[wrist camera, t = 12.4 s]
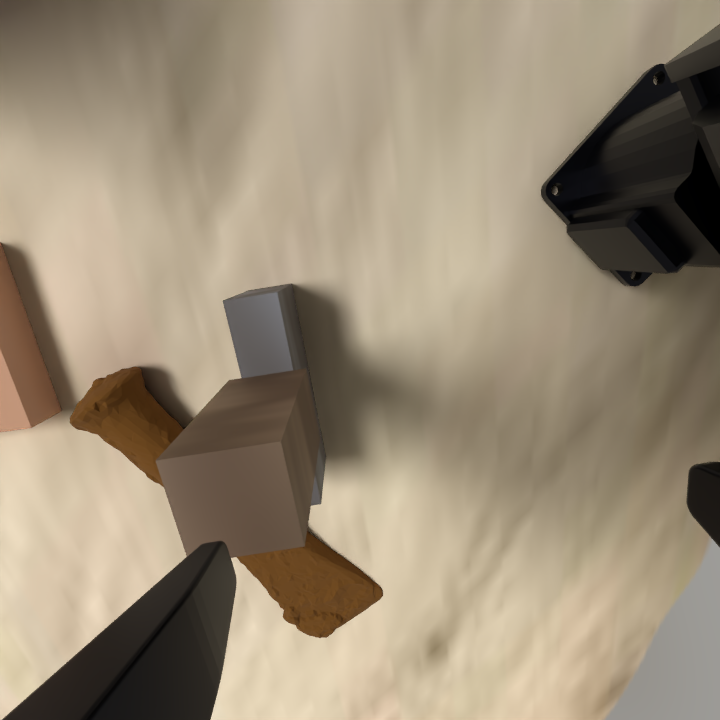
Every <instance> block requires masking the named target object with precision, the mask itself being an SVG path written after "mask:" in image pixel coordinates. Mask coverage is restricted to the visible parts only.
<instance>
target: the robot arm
mask: <svg viewBox="0 0 720 720" xmlns="http://www.w3.org/2000/svg"><path fill="white" fill-rule="evenodd" d="M653 76H656V77H657V79H658V82H657V85H655V84H654V83H653ZM553 185H556V186H557V187H558V193H557V194H556V195H553V194H552V192H551V188H552V186H553ZM541 195H542V198H543V199H544V201H545V202H546V203H547V204H548V205H549V206H550V207H551V208H552V209H553V210H554V211H555V212H556V213H557V215H558V216H559V217H560V218H561V219H562V220H563V221H564V222H565V223H566V224H567V234H568V235H569V236H570V237H571V238H572V239H573V240H574V241H575V242H576V243H577V244H578V245H579V246H580V247H581V248H582V250H583V251H584V252H585V253H586V254H587V255H588V256H589V257H590V258H591V259H592V260H593V261H594V262H595V263H596V264H597V265H598V267H599V268H601V269H606V270H610V271H611V272H612V273H613V274H614V275H615V277H616V278H617V279H618V280H619V281H620V282H621V283H622V284H624V285H627V286H638V285H640V284H642V283H643V282H644V281H645V280H646V279H647V278H648V277H649V276H650V275H651V274H652V273H666V274H668V273H677V272H678V271H679V270H680V269H681V268H682V267H683V266H694V267H719V268H720V24H719V25H718V26H716V27H715V28H714V29H712V30H711V31H709V32H708V33H707V34H705V35H704V36H703V37H701V38H700V39H699V40H697V41H696V42H695V43H693V44H692V45H691V46H689V47H688V48H686V49H685V50H684V51H682V52H681V53H680V54H678V55H677V56H676V57H674V58H673V59H672V60H670V61H669V62H668V63H666V64H658V65H655V66H654V67H652V68H650V69H649V70H647V71H646V72H645V73H644V74H643V75H642V76H641V77H640V78H639V79H638V80H637V81H636V82H635V84H634V85H633V86H632V87H631V88H630V89H629V90H628V91H627V92H626V94H625V95H624V96H623V97H622V98H621V99H620V100H619V101H618V102H617V103H616V105H615V106H614V107H613V108H612V109H611V110H610V111H609V112H608V113H607V114H606V116H605V117H604V118H603V119H602V120H601V121H600V122H599V123H598V124H597V125H596V127H595V128H594V129H593V130H592V131H591V132H590V133H589V134H588V135H587V136H586V138H585V139H584V140H583V141H582V142H581V143H580V144H579V145H578V146H577V148H576V149H575V150H574V151H573V152H572V153H571V154H570V155H569V156H568V157H567V159H566V160H565V161H564V162H563V163H562V164H561V165H560V166H559V167H558V168H557V170H556V171H555V172H554V173H553V174H552V175H551V176H550V177H549V178H548V179H547V181H546V182H545V183H544V184H543V186H542V189H541ZM633 271H635V277H634V278H633V279H631V273H632V272H633ZM687 506H688V509H689V511H690V513H691V514H692V516H693V517H694V518H695V519H696V521H697V522H698V523H699V524H700V525H701V526H702V527H703V529H704V530H705V531H706V532H707V533H708V534H709V536H710V537H711V538H712V539H713V540H714V541H715V542H716V544H717V545H718V546H719V547H720V462H707V463H701V464H696V465H693V466H692V467H691V468H690V470H689V475H688V488H687ZM235 592H236V574H235V571H234V567H233V564H232V561H231V557H230V554H229V551H228V548H227V545H226V544H225V542H223V541H215V542H209V543H204V544H201V545H200V546H199V547H198V548H196V549H195V550H194V551H193V552H192V553H191V554H190V555H189V556H187V557H186V558H185V559H184V560H183V561H182V562H181V563H179V564H178V565H177V566H176V567H175V568H174V569H173V570H172V571H170V572H169V573H168V574H167V575H166V576H165V577H164V578H162V579H161V580H160V581H159V582H158V583H157V584H156V585H154V586H153V587H152V588H151V589H150V590H149V591H148V592H147V593H145V594H144V595H143V596H142V597H141V598H140V599H139V600H137V601H136V602H135V603H134V604H133V605H132V606H131V607H130V608H128V609H127V610H126V611H125V612H124V613H123V614H122V615H120V616H119V617H118V618H117V619H116V620H115V621H114V622H112V623H111V624H110V625H109V626H108V627H107V628H106V629H105V630H103V631H102V632H101V633H100V634H99V635H98V636H97V637H95V638H94V639H93V640H92V641H91V642H90V643H89V644H87V645H86V646H85V647H84V648H83V649H82V650H81V651H80V652H78V653H77V654H76V655H75V656H74V657H73V658H72V659H70V660H69V661H68V662H67V663H66V664H65V665H64V666H62V667H61V668H60V669H59V670H58V671H57V672H56V673H54V674H53V675H52V676H51V677H50V678H49V679H48V680H47V681H45V682H44V683H43V684H42V685H41V686H40V687H39V688H37V689H36V690H35V691H34V692H33V693H32V694H31V695H29V696H28V697H27V698H26V699H25V700H24V701H23V702H22V703H20V704H19V705H18V706H17V707H16V708H15V709H14V710H12V711H11V712H10V713H9V714H8V715H7V716H6V717H4V718H3V719H2V720H210V719H211V716H212V712H213V708H214V704H215V700H216V696H217V693H218V688H219V684H220V680H221V675H222V670H223V665H224V659H225V653H226V647H227V641H228V634H229V628H230V622H231V616H232V610H233V604H234V598H235Z"/></svg>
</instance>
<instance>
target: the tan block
mask: <svg viewBox="0 0 720 720" xmlns="http://www.w3.org/2000/svg"><path fill="white" fill-rule="evenodd" d="M61 411H62V410H61V407H60V405H59V402H58V399H57V396H56V394H55V391H54V388H53V385H52V383H51V380H50V377H49V374H48V372H47V369H46V366H45V363H44V360H43V358H42V355H41V352H40V349H39V347H38V344H37V341H36V338H35V336H34V333H33V330H32V327H31V325H30V322H29V319H28V316H27V313H26V311H25V308H24V305H23V302H22V300H21V297H20V294H19V291H18V289H17V286H16V283H15V280H14V278H13V275H12V272H11V269H10V266H9V264H8V261H7V258H6V255H5V253H4V250H3V247H2V244H1V243H0V432H4V431H11V430H19V429H26V428H32V427H34V426H36V425H37V424H39V423H41V422H43V421H44V420H46V419H48V418H50V417H52V416H53V415H55V414H57V413H59V412H61Z"/></svg>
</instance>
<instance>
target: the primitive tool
mask: <svg viewBox="0 0 720 720" xmlns="http://www.w3.org/2000/svg"><path fill="white" fill-rule="evenodd" d="M70 424H71V425H72V426H73V427H75V428H76V429H78V430H84V431H88V432H90V433H94V434H98V435H99V436H100V437H101V438H102V439H103V440H104V441H105V442H107V443H108V444H110V445H111V446H113V447H114V448H116V449H118V450H119V451H121V452H122V453H123V454H124V455H125V456H126V457H127V458H128V459H129V460H130V461H131V462H132V463H134V464H135V465H136V466H137V467H138V468H139V469H140V470H142V471H143V472H144V473H145V474H146V475H147V477H148V478H150V479H151V480H153V481H154V482H156V483H159V484H160V485H162V486H163V487H164V485H163V482H162V479H161V476H160V473H159V470H158V467H157V464H156V460H157V458H158V457H159V456H160V455H161V454H162V453H163V452H164V451H165V450H166V449H167V448H168V446H169V445H170V444H171V443H172V442H173V441H174V440H175V439H176V438H177V437H178V436H179V434H180V433H181V432H182V431H183V430H184V429H183V428H182V427H181V426H180V425H179V423H178V422H177V421H176V420H175V419H174V418H172V417H171V416H170V415H168V413H167V412H166V411H165V410H164V409H163V408H162V407H161V406H160V405H159V404H158V402H157V401H155V399H154V398H153V396H152V395H151V394H150V393H149V392H148V391H147V390H146V388H145V382H144V379H143V377H142V370H141V369H140V368H138V367H132V368H128V369H121V370H120V371H118V372H115V373H114V374H111V375H107V377H106V378H99V379H96V380H95V381H94V382H93V385H92V387H91V388H90V389H89V390H88V392H87V393H86V395H85V397H84V398H83V399H82V400H81V401H79V403H78V404H77V406H76V408H75V410H74V412H73V414H72V415H71V417H70ZM237 558H238V559H239V561H240V562H241V563H242V564H244V565H245V566H246V567H247V569H248V570H249V571H250V572H251V573H252V574H253V576H255V577H256V578H257V579H258V580H259V581H260V582H261V584H262V585H263V586H264V587H265V588H266V589H267V591H268V593H269V595H270V596H271V597H272V598H273V599H274V600H275V601H277V602H278V603H279V606H280V607H281V608H283V609H284V613H283V618H284V619H285V620H286V621H287V622H288V623H291V624H294V625H296V627H297V629H299V630H300V631H302V632H303V633H305V634H307V635H309V636H315V637H319V638H321V637H328V636H329V635H330V634H332V633H333V632H334V630H335V629H336V628H338V627H340V626H342V625H343V624H345V623H346V622H348V621H349V620H351V619H352V618H354V617H355V616H357V615H358V614H360V613H361V612H363V611H364V610H366V609H367V608H368V607H370V606H371V605H372V604H374V603H376V602H377V601H378V600H380V599H381V597H382V596H383V592H382V589H381V588H380V587H379V586H378V585H377V584H376V583H375V582H374V581H373V580H371V579H370V578H369V577H368V576H367V575H366V574H364V573H363V572H362V571H361V570H360V569H358V568H357V567H356V566H354V565H353V564H351V563H350V562H349V561H347V560H346V559H345V558H343V557H342V556H341V555H339V554H337V553H336V552H334V551H333V550H332V549H330V548H329V547H328V546H326V545H325V544H324V543H322V542H321V541H319V540H318V539H317V538H316V537H314V536H313V535H312V534H310V533H309V532H308V531H307V534H306V541H305V547H298V548H292V549H285V550H278V551H272V552H265V553H259V554H252V555H245V556H239V557H237Z"/></svg>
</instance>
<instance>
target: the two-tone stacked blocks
mask: <svg viewBox="0 0 720 720" xmlns="http://www.w3.org/2000/svg"><path fill="white" fill-rule="evenodd" d="M223 304H224V308H225V312H226V316H227V320H228V324H229V328H230V332H231V336H232V340H233V344H234V348H235V353H236V357H237V361H238V365H239V369H240V373H241V377H242V378H241V379H235V380H229V381H228V382H227V383H226V384H225V385H224V386H223V387H222V389H221V390H220V391H219V392H218V393H217V394H216V395H215V396H214V397H213V398H212V399H211V401H210V402H209V403H208V404H207V405H206V406H205V407H204V408H203V409H202V410H201V412H200V413H199V414H198V415H197V416H196V417H195V418H194V419H193V420H192V421H191V422H190V424H189V425H188V426H187V427H186V428H185V429H184V430H183V431H182V432H181V433H180V434H179V436H178V437H177V438H176V439H175V440H174V441H173V442H172V443H171V444H170V445H169V446H168V448H167V449H166V450H165V451H164V452H163V453H162V454H161V455H160V456H159V457H158V458H157V460H156V464H157V467H158V470H159V473H160V476H161V479H162V482H163V485H164V488H165V492H166V495H167V498H168V501H169V504H170V507H171V510H172V513H173V516H174V519H175V522H176V525H177V528H178V531H179V534H180V537H181V540H182V543H183V546H184V549H185V552H186V555H187V556H189V555H190V554H191V553H192V552H193V551H194V550H195V549H196V548H198V547H199V546H200V545H201V544H204V543H209V542H215V541H223V542H225V544H226V545H227V548H228V551H229V554H230V557H231V558H232V557H239V556H245V555H252V554H259V553H265V552H272V551H278V550H285V549H292V548H298V547H305V541H306V534H307V527H308V520H309V513H310V506H311V505H317V504H321V499H322V489H323V480H324V470H325V460H326V455H325V450H324V445H323V440H322V435H321V430H320V425H319V419H318V414H317V409H316V404H315V399H314V394H313V389H312V384H311V379H310V374H309V369H308V363H307V358H306V353H305V348H304V343H303V338H302V333H301V328H300V323H299V318H298V312H297V307H296V302H295V297H294V292H293V287H292V284H287V285H280V286H274V287H268V288H261V289H255V290H249V291H246V292H244V293H241V294H239V295H236V296H234V297H231V298H229V299H226V300H223Z"/></svg>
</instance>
